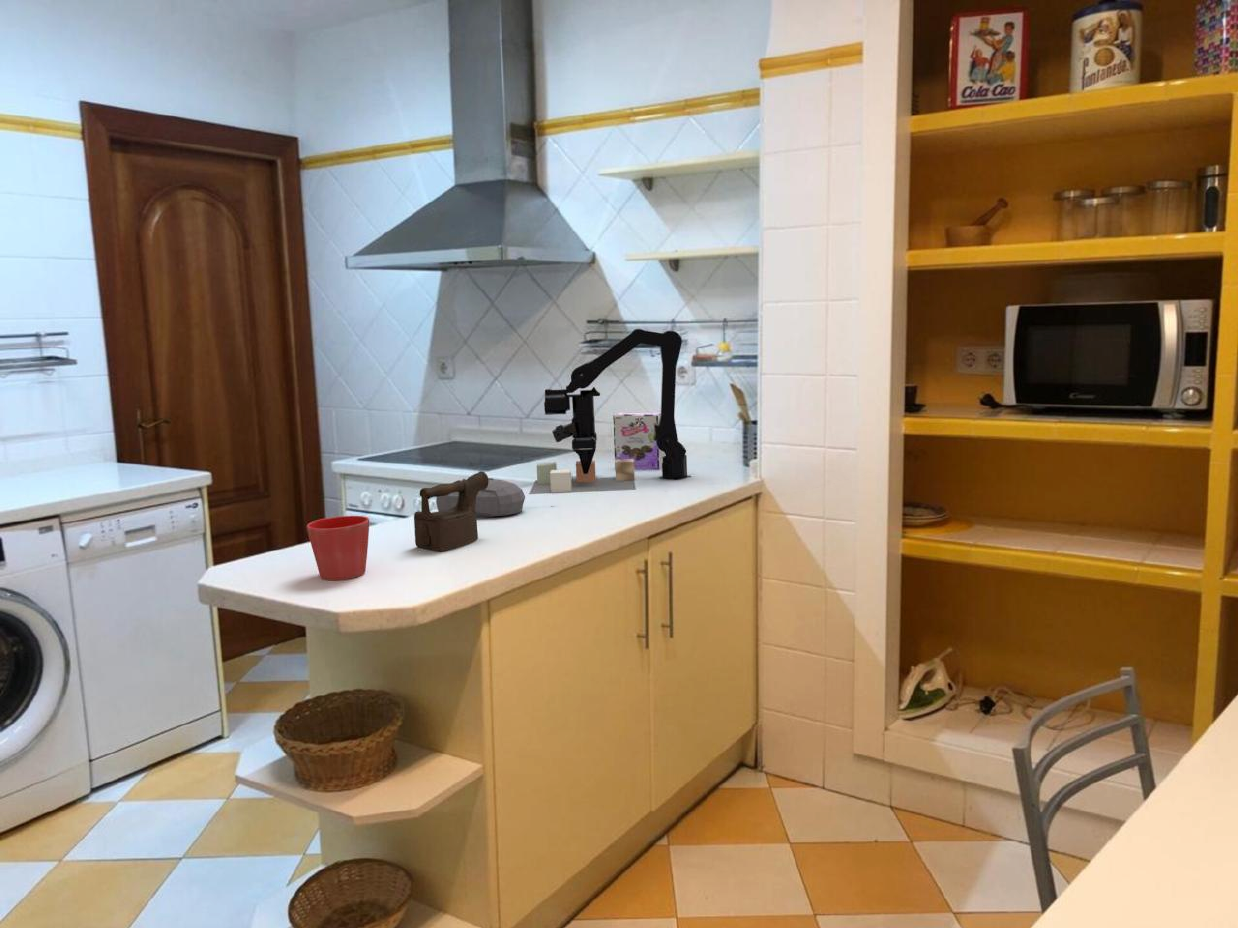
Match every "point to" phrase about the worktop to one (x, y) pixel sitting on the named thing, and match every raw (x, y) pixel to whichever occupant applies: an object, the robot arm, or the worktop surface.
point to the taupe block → (560, 480)
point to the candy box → (637, 440)
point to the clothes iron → (449, 515)
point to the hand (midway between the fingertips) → (586, 471)
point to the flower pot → (340, 546)
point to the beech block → (624, 470)
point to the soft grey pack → (490, 499)
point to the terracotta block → (585, 477)
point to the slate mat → (588, 486)
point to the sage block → (545, 472)
